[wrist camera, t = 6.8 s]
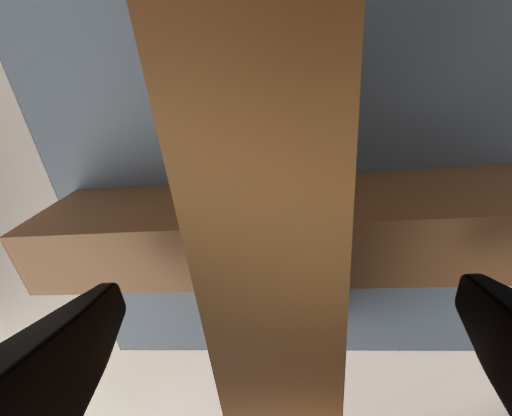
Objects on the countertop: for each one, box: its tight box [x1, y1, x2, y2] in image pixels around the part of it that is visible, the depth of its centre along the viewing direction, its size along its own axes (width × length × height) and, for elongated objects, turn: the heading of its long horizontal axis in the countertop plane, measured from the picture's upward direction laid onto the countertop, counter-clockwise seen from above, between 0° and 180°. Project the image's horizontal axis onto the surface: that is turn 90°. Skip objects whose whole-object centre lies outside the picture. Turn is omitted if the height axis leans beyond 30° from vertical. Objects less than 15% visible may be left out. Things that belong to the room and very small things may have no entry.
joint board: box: [0, 0, 512, 351], centre depth 11 cm, size 20×18×5 cm
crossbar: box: [126, 0, 365, 416], centre depth 9 cm, size 14×2×8 cm, turn 5°
